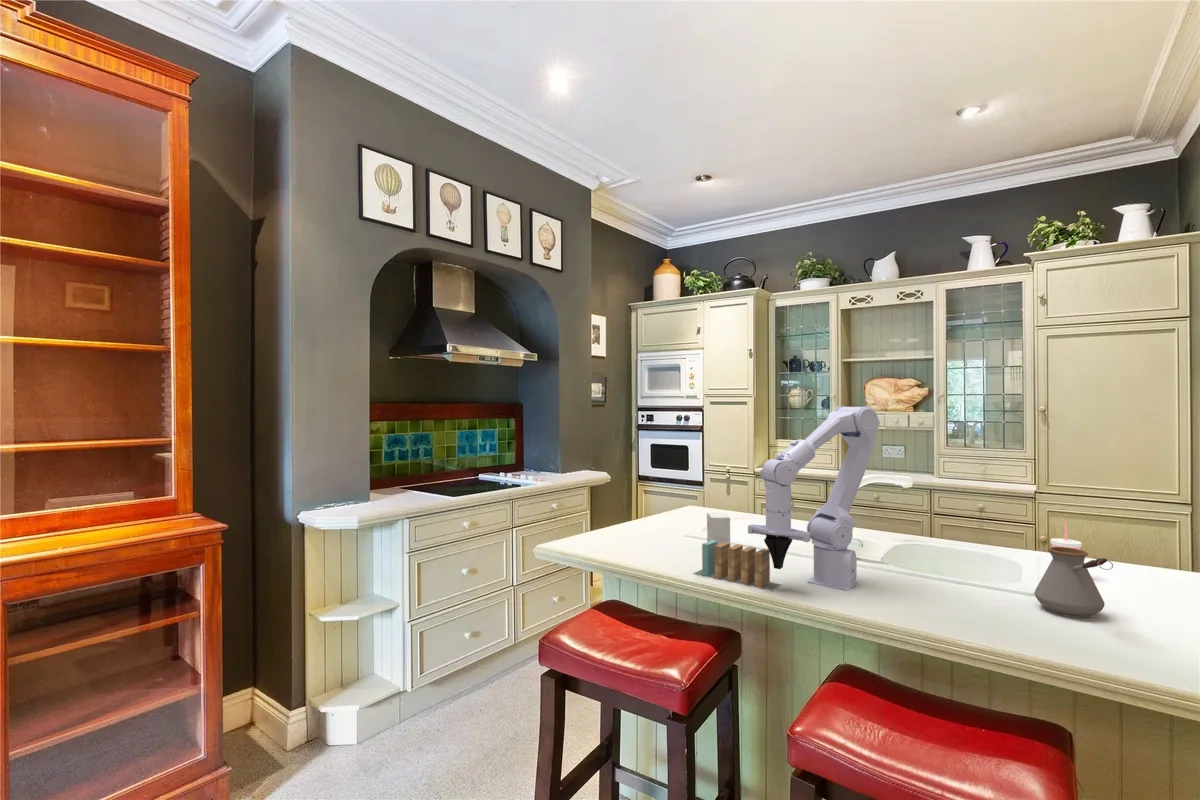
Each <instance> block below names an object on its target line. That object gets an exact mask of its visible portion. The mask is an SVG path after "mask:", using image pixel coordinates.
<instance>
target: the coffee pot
mask: <svg viewBox="0 0 1200 800" xmlns="http://www.w3.org/2000/svg"><path fill="white" fill-rule="evenodd" d="M1047 551H1048V552H1049V554H1050V555H1051V557H1052V559H1051V561H1050V562H1049V564H1048V566H1047V568H1046V570H1045V572H1044V573H1043V576H1042V577H1041V579H1040V581H1039V582H1038V585H1037V586H1036V588H1035V590H1034V596H1035V598H1036V600H1037V601H1038V603H1040V604H1041V605H1042V606H1044V608H1045V610H1047V611H1049V612H1051V613H1053V614H1056V615H1060V616H1063V617H1068V618H1075V619H1089V618H1093V615H1097V614H1099V613H1100V612H1102V610H1103V609H1104V607H1105V605H1106V604H1105V600H1104V599H1103V597H1102V595H1101V593H1100V591H1099V589H1098V588H1097V586H1096V583H1095V581H1094V580H1093V577H1092V576H1091V573H1090V571H1089V570H1088V569H1090V568H1091V569H1092V568H1096V567H1099V568H1100V569H1102V570H1105V571H1108V570H1112V569H1113V568H1114V564H1113V563H1112V561H1110V560H1108V559H1107V558H1105V557H1104V558H1103V557H1102V558H1096V559H1092V560H1089V561H1087V562H1085V559H1086V557H1087V556H1088V555H1089V552H1087V551H1086V550H1082V549H1080V550H1079V549H1074V548H1066V547H1052V546H1051V547H1049V548H1048V549H1047ZM1107 562H1109V564H1110V565H1111V567H1110V568H1107V569H1106V568H1103V567H1102V566H1103V565H1104V564H1106V563H1107Z"/></svg>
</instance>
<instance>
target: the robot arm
mask: <svg viewBox="0 0 1200 800" xmlns="http://www.w3.org/2000/svg"><path fill="white" fill-rule="evenodd" d="M880 424H881V421H880V419H879V416H878V414H877V412H876V410H875V409H874V408H873V407H871V406H867V405H865V406H844V405H840V406H837V407H836V408H835V409H833V411H831V412H830V413H828V416H827V418H826V419H825V420H824V421H823V422H822V423H821V424H820V425H819V426H818V427H816V429H815V430H814V431H812V432H811V433H810V435H808V436H807V437H806V438H805V439H795V440H792V441H791V442H790V445H789V446H788V447H787V448H786V449H785V450H783V451H782V452H778V453H777V454H776V457H775V458H772V459H767V460H766V461H765V462H764V464H763V466H762V467H761V470H759V471H760V473H759V474H760V476H761V478H762V480H763V481H764V487H765V525H763V524H754V523H753V524H752V523H751V524H749V525H747V534H749V535H752V534H754V535H761V536H765V538H764V539H763V541H764V544H765V545H766V547H767V549H769V552H770V558H771V559H772V564H773V569H776V570H781V569H783V568H784V563H785V562H784V561H785V558H786V556H787V555H786V554H787V553H788V550H789V548H790V546H791V544H792V542H793V541H794V540H795V541H802V542H804V543H809V542H811V543H812V545H813V577H812V578H810V579H809V580H808V581H807V584H811V585H816V586H822V587H827V588H832V589H838V590H843V591H846V592H847V591H850V590H851V589H853V588H854V586H856V585H857V584H858V580H857V577H858V576H857V575H858V573H857V571H858V569H857V565H858V563H857V560H858V559H857V553H856V551H855V550H853V549H848V547H849V545H850V544H851V543H852V540H853V530H854V526H855V521H854V519H853V518H852V516H851V514H850V512H851V508H852V506H853V503H854V501H855V498H856V496H857V494H858V491H859V489H860V485H861V484H862V481H863V477H864V476H865V473H866V470H867V467H868V465H869V462H870V460H871V457H872V455H873V453H874V450H875V444H876V434H877V432H878V429H879V427H880ZM838 434H839V435H840V436H841V437H842V439H843V440H844V441H845V442H846V444H847V446H848V448H847V451H846V453H845V456H844V458H843V461H842V464H841V465H840V468H839V470H838V474H837V475H836V478H835V481H834V483H833V486H832V489H831V491H830V494H829V496H828V499H827V501H826V503H825V504H824V505H822V506H820V507H819V508H817V509H816V510H815V513H814V515H813V517H811V518H810V519H809V520H808V523H807V526H806V531H803V530H800V529H795V528H792V484H793V483H794V482H795V481H796V478H797V475H798V473H799V472H800V470H802V469H803V468H804V467H805V466H807V465H808V464H809V463H810V462H811V461H812V460H813V459H814V458H815V457H816V451H817V449H819V448H821V447H822V446H824V444H826V443H827V442H828V441H830V440H832V439H833V438H834V437H835V436H836V435H838Z"/></svg>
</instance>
